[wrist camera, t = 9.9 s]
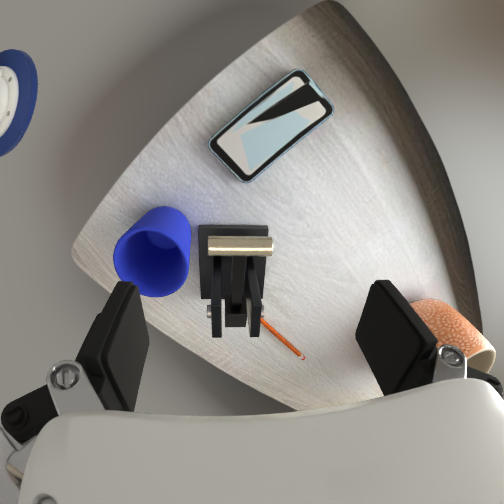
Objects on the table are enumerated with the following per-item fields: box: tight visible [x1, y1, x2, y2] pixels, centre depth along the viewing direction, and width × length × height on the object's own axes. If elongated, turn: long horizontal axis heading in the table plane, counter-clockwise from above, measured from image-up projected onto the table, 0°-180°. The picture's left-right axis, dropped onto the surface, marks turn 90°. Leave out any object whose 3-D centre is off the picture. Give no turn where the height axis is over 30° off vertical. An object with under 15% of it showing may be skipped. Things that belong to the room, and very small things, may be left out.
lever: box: [208, 236, 273, 327], centre depth 26 cm, size 12×5×2 cm, turn 178°
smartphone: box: [208, 69, 334, 183], centre depth 31 cm, size 7×1×15 cm
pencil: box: [261, 318, 305, 360], centre depth 46 cm, size 1×18×1 cm, turn 38°
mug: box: [113, 206, 191, 297], centre depth 32 cm, size 8×12×10 cm
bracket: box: [198, 225, 268, 338], centre depth 34 cm, size 11×9×13 cm
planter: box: [410, 299, 496, 374], centre depth 41 cm, size 21×21×19 cm
